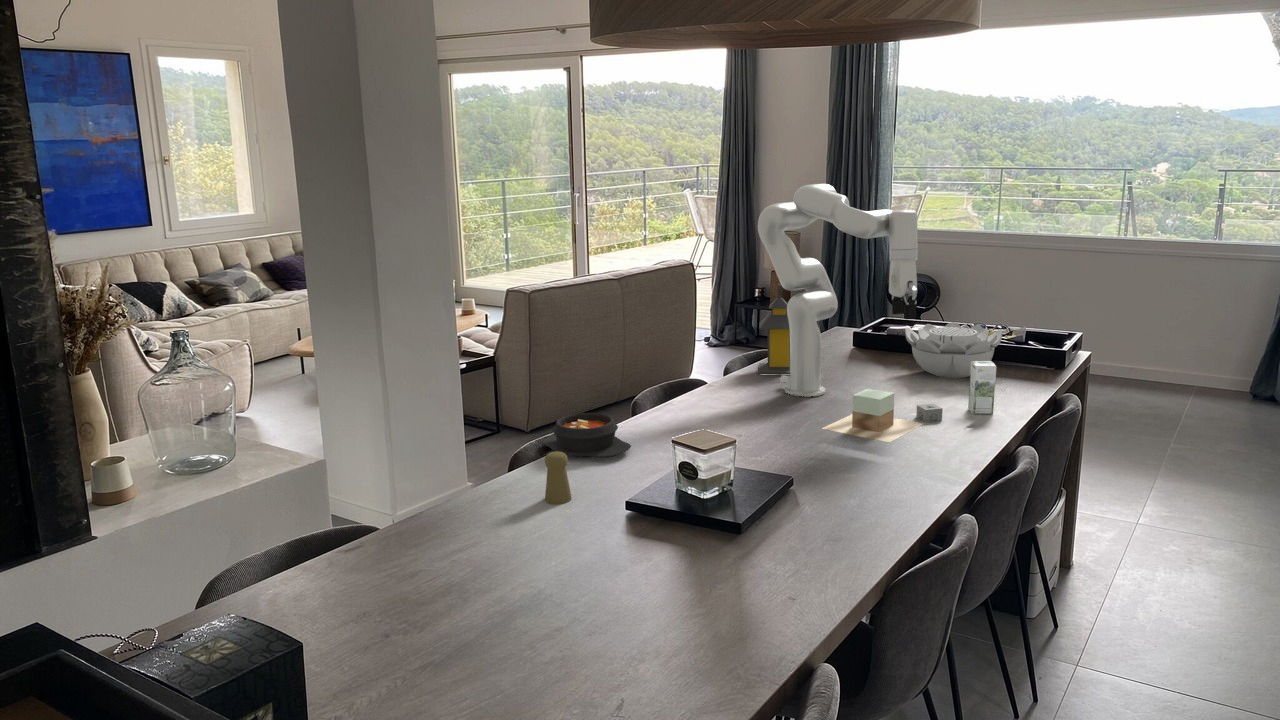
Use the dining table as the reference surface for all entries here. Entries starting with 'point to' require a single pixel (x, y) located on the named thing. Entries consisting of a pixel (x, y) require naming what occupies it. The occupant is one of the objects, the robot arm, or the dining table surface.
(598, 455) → the casserole
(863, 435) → the oak board
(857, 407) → the sage block
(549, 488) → the olive peg figure
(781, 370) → the lantern
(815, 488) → the dining table surface
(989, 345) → the decorative bowl
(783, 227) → the robot arm
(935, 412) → the dice cube
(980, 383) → the syrup box
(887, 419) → the walnut block
